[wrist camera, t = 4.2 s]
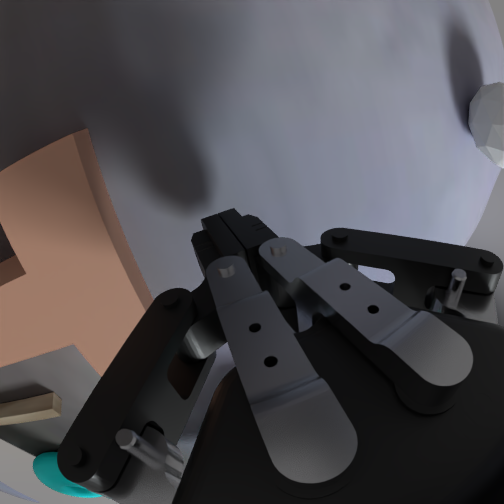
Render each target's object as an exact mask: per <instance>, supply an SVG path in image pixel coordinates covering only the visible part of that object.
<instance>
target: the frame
mask: <svg viewBox="0 0 504 504" xmlns="http://www.w3.org/2000/svg"><path fill="white" fill-rule="evenodd" d="M61 401H62V400H61V399H60V398H59V397H58V396H57V395H56V394H55V393H54V392H53V393H48V394H44V395H40V396H36V397H31V398H27V399H22V400H17V401H12V402H7V403H2V404H0V425H8V424H16V423H23V422H30V421H36V420H42V419H47V418H53V417H58V416H61Z"/></svg>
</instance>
